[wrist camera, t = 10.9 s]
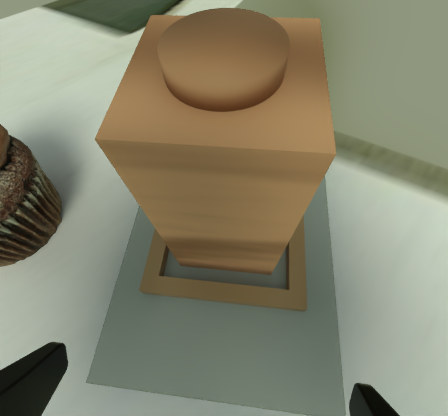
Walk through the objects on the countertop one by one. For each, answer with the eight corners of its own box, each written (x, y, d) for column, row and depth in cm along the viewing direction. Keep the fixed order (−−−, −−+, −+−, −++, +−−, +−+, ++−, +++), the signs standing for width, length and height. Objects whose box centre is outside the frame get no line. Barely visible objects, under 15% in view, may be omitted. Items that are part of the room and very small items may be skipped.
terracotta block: (271, 274, 17) (349, 128, 5) (180, 265, 17) (77, 114, 6) (272, 196, 19) (327, -10, 8) (195, 190, 20) (144, -13, 9)
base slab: (332, 411, 15) (354, 426, 12) (102, 378, 16) (76, 385, 13) (314, 146, 24) (324, 122, 21) (169, 137, 25) (162, 113, 23)
